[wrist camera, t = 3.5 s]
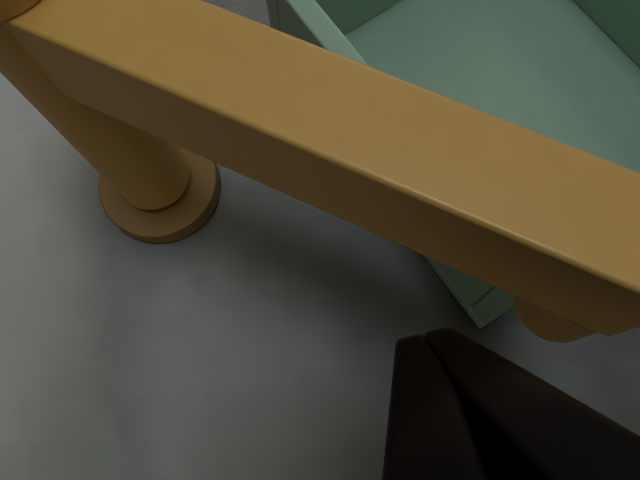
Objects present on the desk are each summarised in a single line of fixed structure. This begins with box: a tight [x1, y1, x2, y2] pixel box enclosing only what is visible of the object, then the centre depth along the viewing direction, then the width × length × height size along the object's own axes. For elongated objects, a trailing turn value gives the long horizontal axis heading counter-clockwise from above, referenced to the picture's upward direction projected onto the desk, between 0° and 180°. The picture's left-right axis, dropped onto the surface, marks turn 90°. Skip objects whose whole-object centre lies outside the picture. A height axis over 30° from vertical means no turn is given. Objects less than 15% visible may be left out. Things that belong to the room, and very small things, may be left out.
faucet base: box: [99, 147, 221, 243], centre depth 20 cm, size 4×4×1 cm
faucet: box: [0, 0, 640, 343], centre depth 14 cm, size 16×3×11 cm, turn 64°
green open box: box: [266, 0, 640, 329], centre depth 19 cm, size 12×11×5 cm
